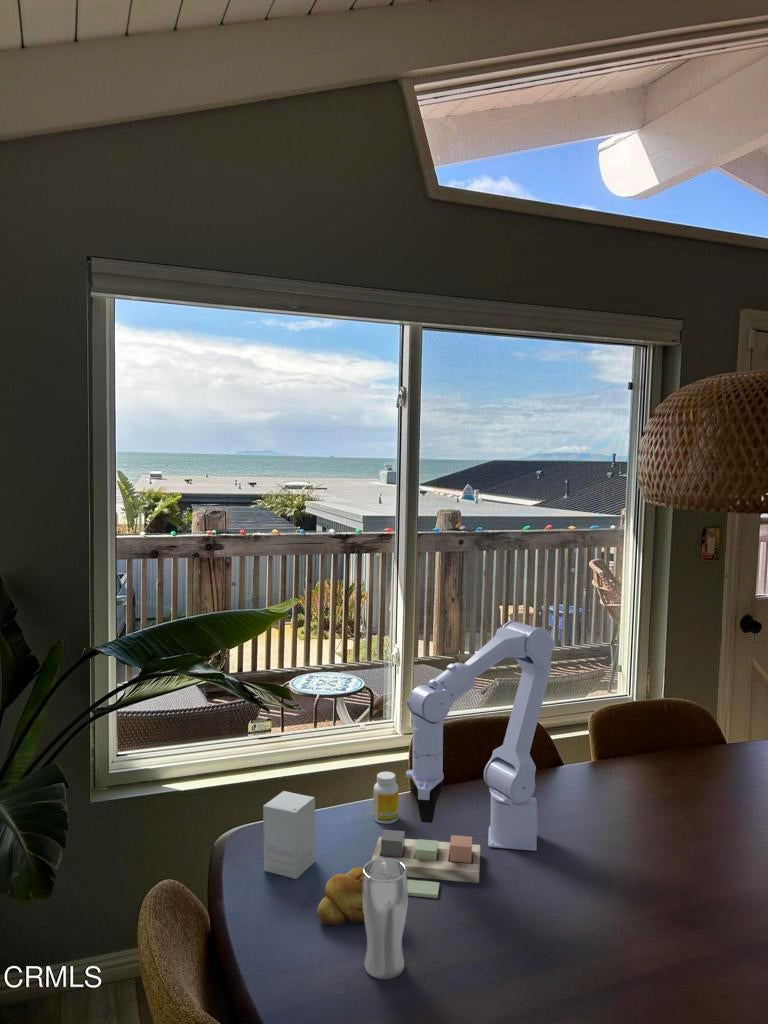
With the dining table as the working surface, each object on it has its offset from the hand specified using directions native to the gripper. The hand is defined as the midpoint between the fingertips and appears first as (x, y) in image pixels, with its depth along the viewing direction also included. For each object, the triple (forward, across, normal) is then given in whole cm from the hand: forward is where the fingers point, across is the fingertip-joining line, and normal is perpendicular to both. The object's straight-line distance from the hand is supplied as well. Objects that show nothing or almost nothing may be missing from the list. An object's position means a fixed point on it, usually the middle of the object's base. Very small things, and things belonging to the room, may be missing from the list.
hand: (427, 820), depth 139 cm
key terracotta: (+6, 0, +6) cm, 9 cm away
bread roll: (+9, +18, -11) cm, 22 cm away
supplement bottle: (+9, -17, -10) cm, 22 cm away
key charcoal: (+6, 0, -6) cm, 9 cm away
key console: (+8, 0, 0) cm, 8 cm away
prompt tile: (+8, +9, 0) cm, 12 cm away
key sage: (+8, 0, 0) cm, 8 cm away
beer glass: (+9, +30, -4) cm, 31 cm away
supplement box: (+9, +5, -26) cm, 27 cm away
